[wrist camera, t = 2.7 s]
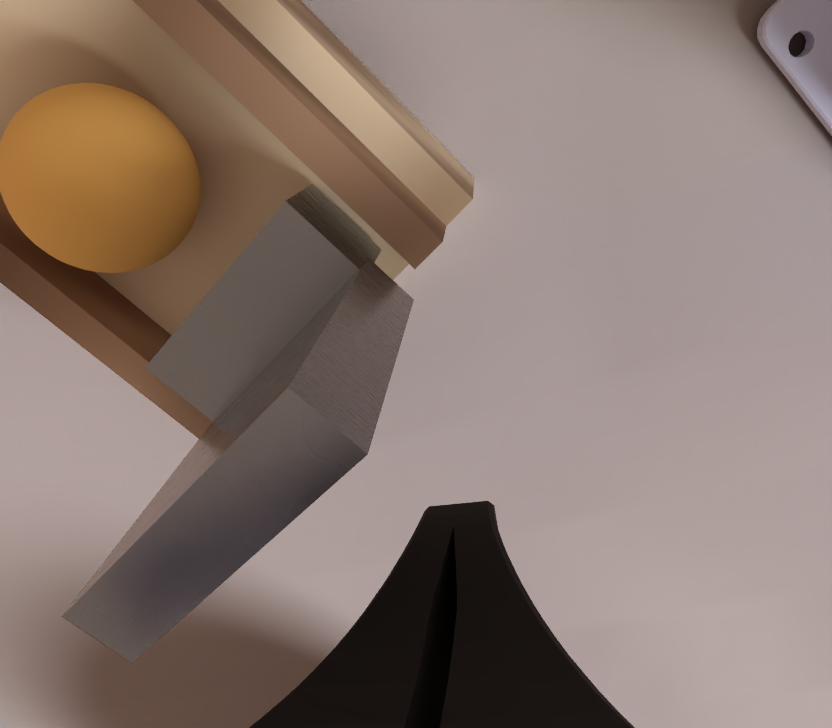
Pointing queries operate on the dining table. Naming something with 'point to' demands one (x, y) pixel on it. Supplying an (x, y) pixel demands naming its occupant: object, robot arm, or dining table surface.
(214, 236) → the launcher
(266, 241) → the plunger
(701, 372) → the dining table surface
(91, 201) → the ball
